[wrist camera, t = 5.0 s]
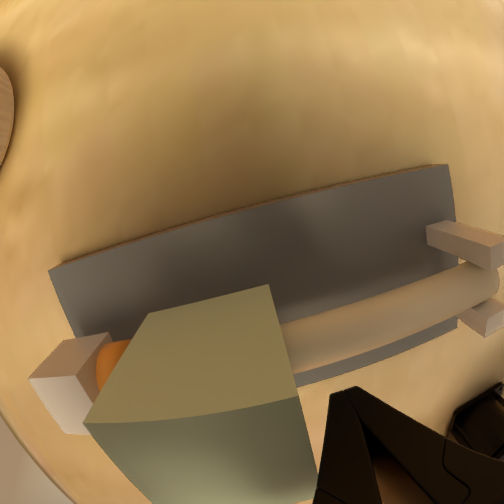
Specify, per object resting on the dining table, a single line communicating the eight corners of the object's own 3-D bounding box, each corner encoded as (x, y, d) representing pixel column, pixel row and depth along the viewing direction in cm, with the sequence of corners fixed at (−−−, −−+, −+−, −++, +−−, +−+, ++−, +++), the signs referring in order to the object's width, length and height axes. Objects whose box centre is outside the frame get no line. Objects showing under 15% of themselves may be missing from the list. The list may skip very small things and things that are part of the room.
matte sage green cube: (268, 284, 12) (298, 395, 5) (292, 376, 13) (323, 496, 6) (148, 313, 12) (82, 423, 5) (186, 397, 13) (164, 513, 6)
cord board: (432, 164, 14) (519, 165, 8) (444, 318, 17) (507, 368, 10) (61, 263, 15) (-15, 306, 8) (126, 401, 17) (94, 475, 11)
